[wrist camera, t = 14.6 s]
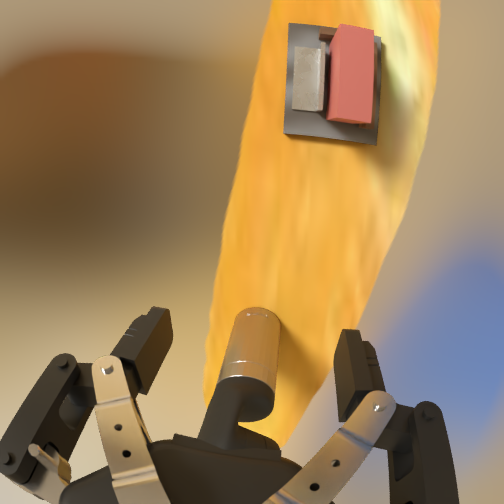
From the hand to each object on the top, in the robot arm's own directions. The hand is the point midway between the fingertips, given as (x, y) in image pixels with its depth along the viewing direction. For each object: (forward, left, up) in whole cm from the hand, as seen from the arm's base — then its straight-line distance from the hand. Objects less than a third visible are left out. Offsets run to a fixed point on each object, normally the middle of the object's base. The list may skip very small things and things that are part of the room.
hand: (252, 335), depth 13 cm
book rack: (+17, -7, -34) cm, 39 cm away
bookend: (+17, -3, -33) cm, 37 cm away
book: (+17, -8, -33) cm, 37 cm away
